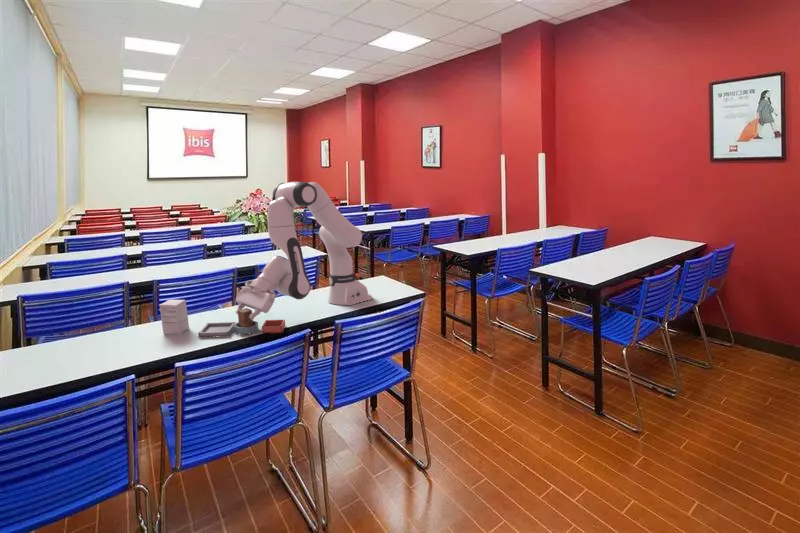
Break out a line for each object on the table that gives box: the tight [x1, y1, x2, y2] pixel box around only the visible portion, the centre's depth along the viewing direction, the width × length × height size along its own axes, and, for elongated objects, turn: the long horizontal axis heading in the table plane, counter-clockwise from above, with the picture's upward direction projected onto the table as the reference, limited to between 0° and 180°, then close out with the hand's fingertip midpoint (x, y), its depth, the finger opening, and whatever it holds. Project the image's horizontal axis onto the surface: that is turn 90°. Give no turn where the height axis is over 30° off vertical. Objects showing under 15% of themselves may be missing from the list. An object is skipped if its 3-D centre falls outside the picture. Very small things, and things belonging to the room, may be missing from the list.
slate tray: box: [197, 321, 237, 338], centre depth 187 cm, size 12×12×2 cm
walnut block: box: [237, 307, 254, 327], centre depth 188 cm, size 4×4×9 cm
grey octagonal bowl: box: [233, 320, 259, 335], centre depth 188 cm, size 9×9×3 cm
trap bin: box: [261, 319, 286, 334], centre depth 189 cm, size 8×8×3 cm
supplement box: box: [159, 299, 190, 335], centre depth 187 cm, size 7×7×13 cm
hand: (243, 316), depth 187 cm, fingers open, 8 cm apart
